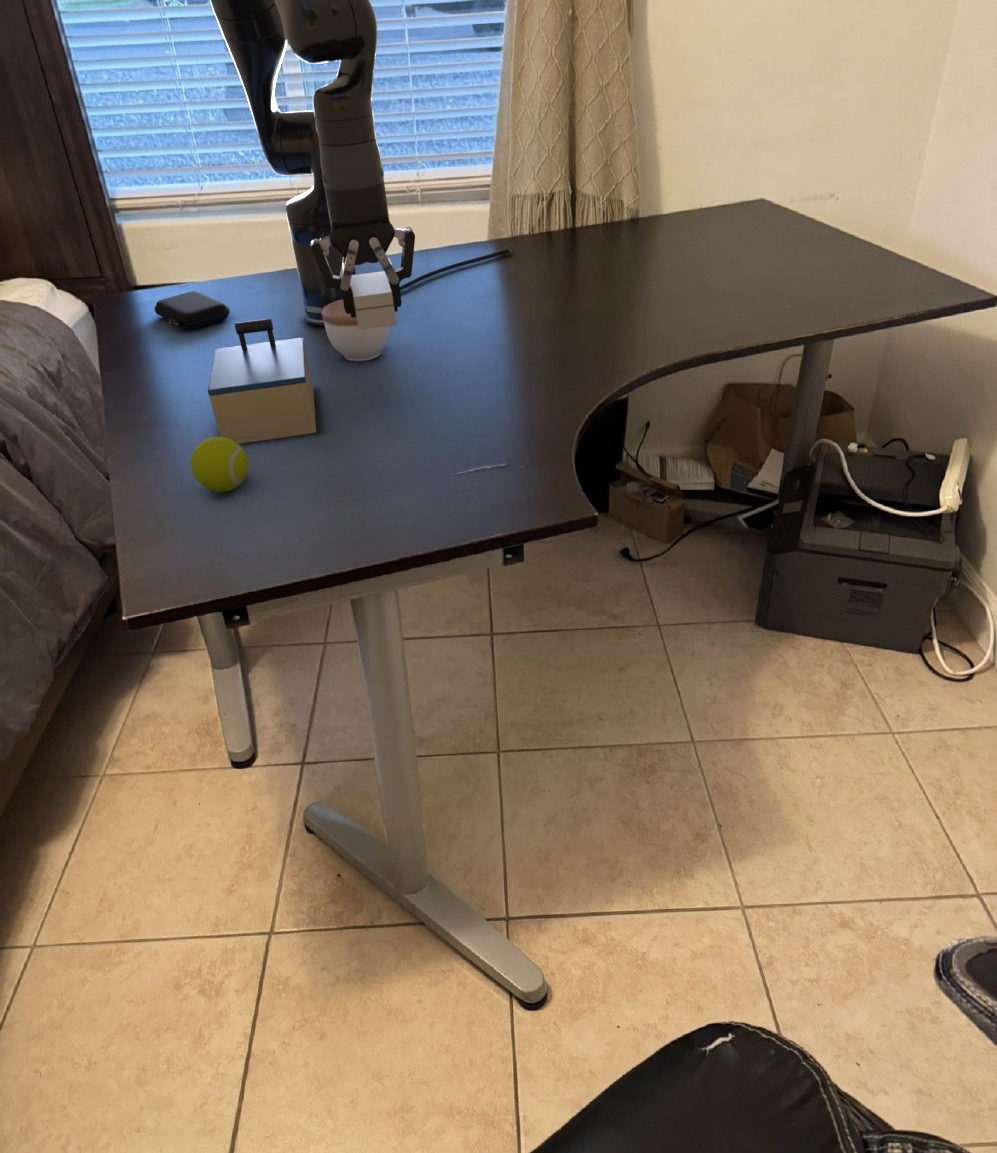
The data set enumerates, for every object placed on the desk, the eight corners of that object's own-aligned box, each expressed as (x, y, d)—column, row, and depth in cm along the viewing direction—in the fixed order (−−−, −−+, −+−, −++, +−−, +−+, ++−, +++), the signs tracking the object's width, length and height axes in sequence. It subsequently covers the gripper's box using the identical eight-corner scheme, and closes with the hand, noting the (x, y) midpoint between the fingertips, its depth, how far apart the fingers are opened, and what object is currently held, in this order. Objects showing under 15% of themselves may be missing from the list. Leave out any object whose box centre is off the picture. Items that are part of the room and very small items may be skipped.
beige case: (353, 306, 122) (348, 275, 120) (389, 302, 123) (384, 270, 120) (358, 330, 115) (353, 297, 112) (396, 325, 115) (392, 292, 113)
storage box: (228, 402, 129) (216, 355, 125) (313, 391, 131) (304, 344, 126) (222, 446, 117) (209, 396, 113) (316, 432, 119) (306, 383, 115)
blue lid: (216, 353, 125) (208, 322, 123) (304, 342, 127) (297, 310, 124) (208, 395, 113) (199, 361, 110) (306, 382, 115) (299, 348, 112)
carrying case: (147, 318, 163) (182, 335, 154) (142, 302, 161) (177, 319, 152) (199, 302, 169) (236, 319, 160) (195, 287, 167) (232, 302, 158)
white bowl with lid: (342, 372, 136) (331, 313, 130) (321, 351, 144) (310, 295, 138) (405, 356, 139) (397, 298, 134) (381, 337, 147) (373, 281, 142)
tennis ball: (217, 472, 111) (204, 425, 107) (263, 477, 109) (251, 429, 105) (188, 499, 106) (173, 450, 102) (236, 504, 104) (222, 455, 100)
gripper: (406, 167, 113) (421, 297, 123) (295, 180, 111) (320, 311, 121) (414, 179, 107) (429, 315, 117) (296, 193, 105) (322, 329, 115)
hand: (373, 312), depth 119 cm, fingers closed on beige case, 5 cm apart
